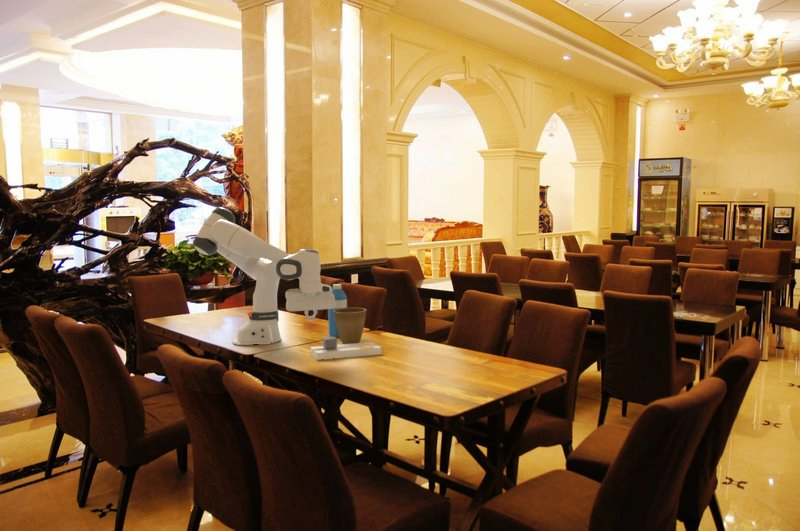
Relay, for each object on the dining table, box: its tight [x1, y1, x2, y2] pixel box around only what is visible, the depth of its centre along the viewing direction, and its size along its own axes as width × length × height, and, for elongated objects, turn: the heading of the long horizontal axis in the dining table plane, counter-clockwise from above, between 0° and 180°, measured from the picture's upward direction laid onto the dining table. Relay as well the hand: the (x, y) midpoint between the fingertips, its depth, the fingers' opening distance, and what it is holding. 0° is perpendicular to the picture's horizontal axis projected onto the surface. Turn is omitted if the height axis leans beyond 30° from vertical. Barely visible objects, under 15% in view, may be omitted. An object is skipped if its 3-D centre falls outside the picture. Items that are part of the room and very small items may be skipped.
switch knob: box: [321, 336, 338, 350], centre depth 263 cm, size 5×5×6 cm
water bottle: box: [327, 283, 348, 338], centre depth 305 cm, size 9×9×25 cm
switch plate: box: [310, 341, 382, 361], centre depth 266 cm, size 28×12×3 cm, turn 110°
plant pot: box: [334, 307, 367, 344], centre depth 284 cm, size 15×15×16 cm
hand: (311, 320), depth 259 cm, fingers closed
